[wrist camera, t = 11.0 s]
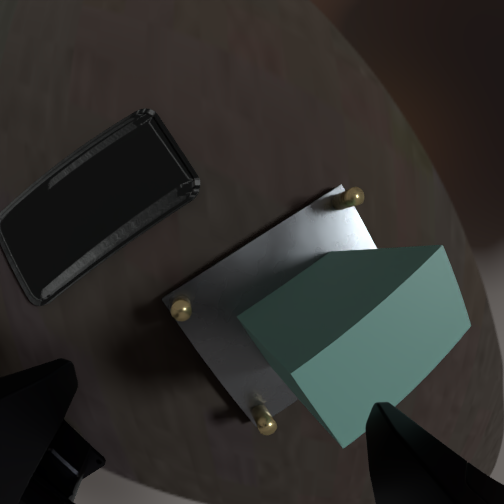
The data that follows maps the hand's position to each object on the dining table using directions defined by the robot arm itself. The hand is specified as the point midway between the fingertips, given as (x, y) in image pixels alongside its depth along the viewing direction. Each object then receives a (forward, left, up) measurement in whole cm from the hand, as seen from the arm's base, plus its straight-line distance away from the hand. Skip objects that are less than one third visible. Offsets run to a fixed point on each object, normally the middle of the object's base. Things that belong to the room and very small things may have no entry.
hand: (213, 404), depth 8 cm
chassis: (+6, -4, -13) cm, 15 cm away
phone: (-1, +11, -14) cm, 18 cm away
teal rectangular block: (+6, -4, -12) cm, 14 cm away
